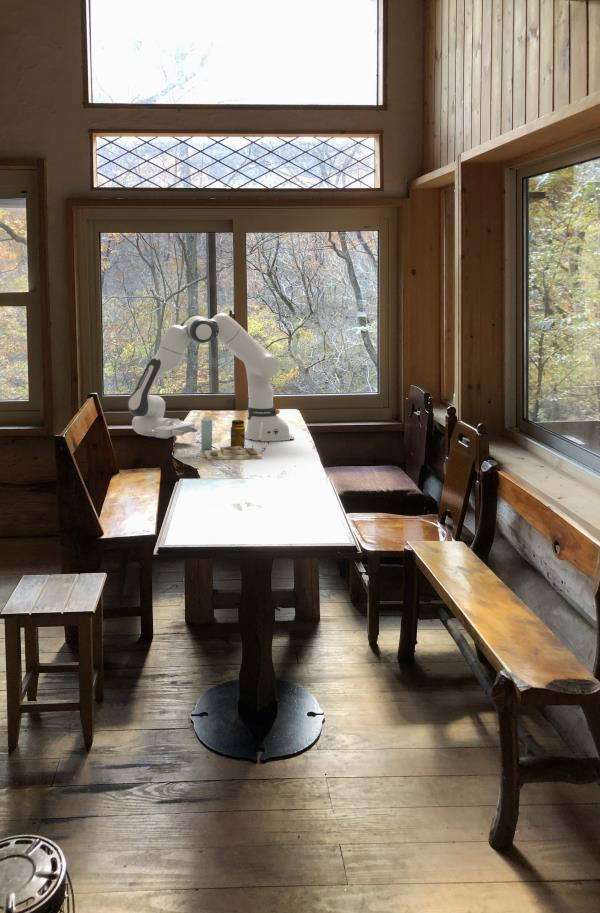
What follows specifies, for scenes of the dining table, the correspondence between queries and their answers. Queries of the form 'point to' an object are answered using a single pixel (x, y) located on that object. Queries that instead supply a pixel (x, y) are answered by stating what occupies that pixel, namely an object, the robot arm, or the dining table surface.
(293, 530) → the dining table surface
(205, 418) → the roll-on deodorant
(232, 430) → the condiment
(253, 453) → the jig
